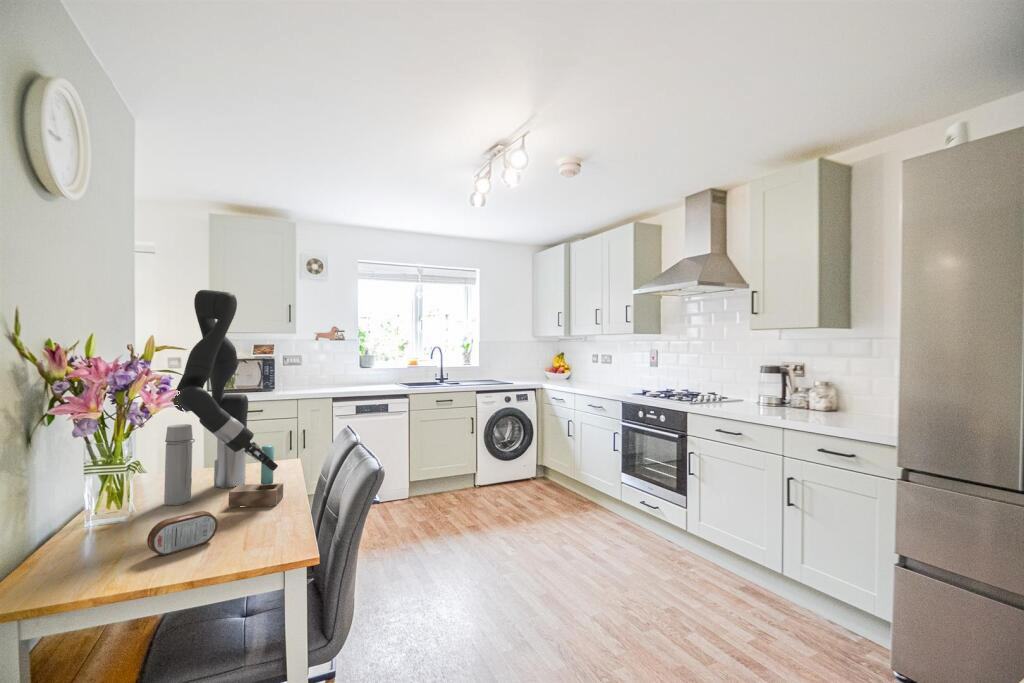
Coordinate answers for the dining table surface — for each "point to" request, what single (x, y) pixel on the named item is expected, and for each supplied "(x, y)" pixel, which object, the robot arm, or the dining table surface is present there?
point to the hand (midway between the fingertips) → (273, 466)
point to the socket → (256, 495)
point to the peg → (266, 471)
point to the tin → (182, 532)
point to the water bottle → (178, 464)
